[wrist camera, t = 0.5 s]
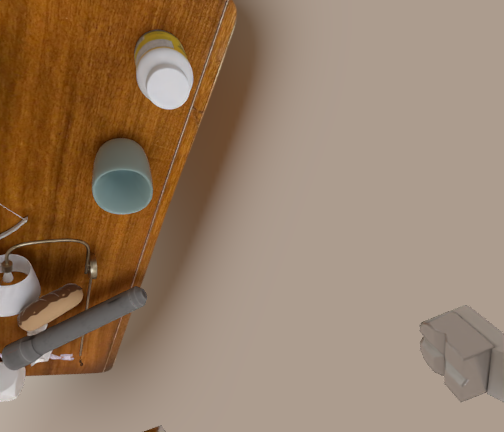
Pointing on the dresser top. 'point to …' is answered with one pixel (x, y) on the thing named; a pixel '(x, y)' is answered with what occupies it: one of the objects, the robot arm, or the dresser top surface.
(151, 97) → the pill bottle
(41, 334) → the flashlight
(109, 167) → the cup
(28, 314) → the donut
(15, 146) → the dresser top surface
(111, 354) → the dresser top surface
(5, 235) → the crossbow
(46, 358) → the tissue
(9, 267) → the light fixture
